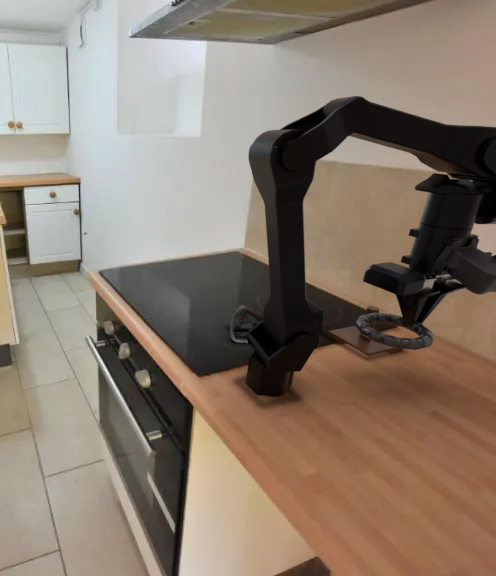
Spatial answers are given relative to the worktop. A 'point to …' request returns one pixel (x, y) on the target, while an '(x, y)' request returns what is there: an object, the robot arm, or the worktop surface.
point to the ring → (392, 341)
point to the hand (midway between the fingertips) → (412, 324)
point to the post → (361, 338)
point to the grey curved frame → (243, 323)
